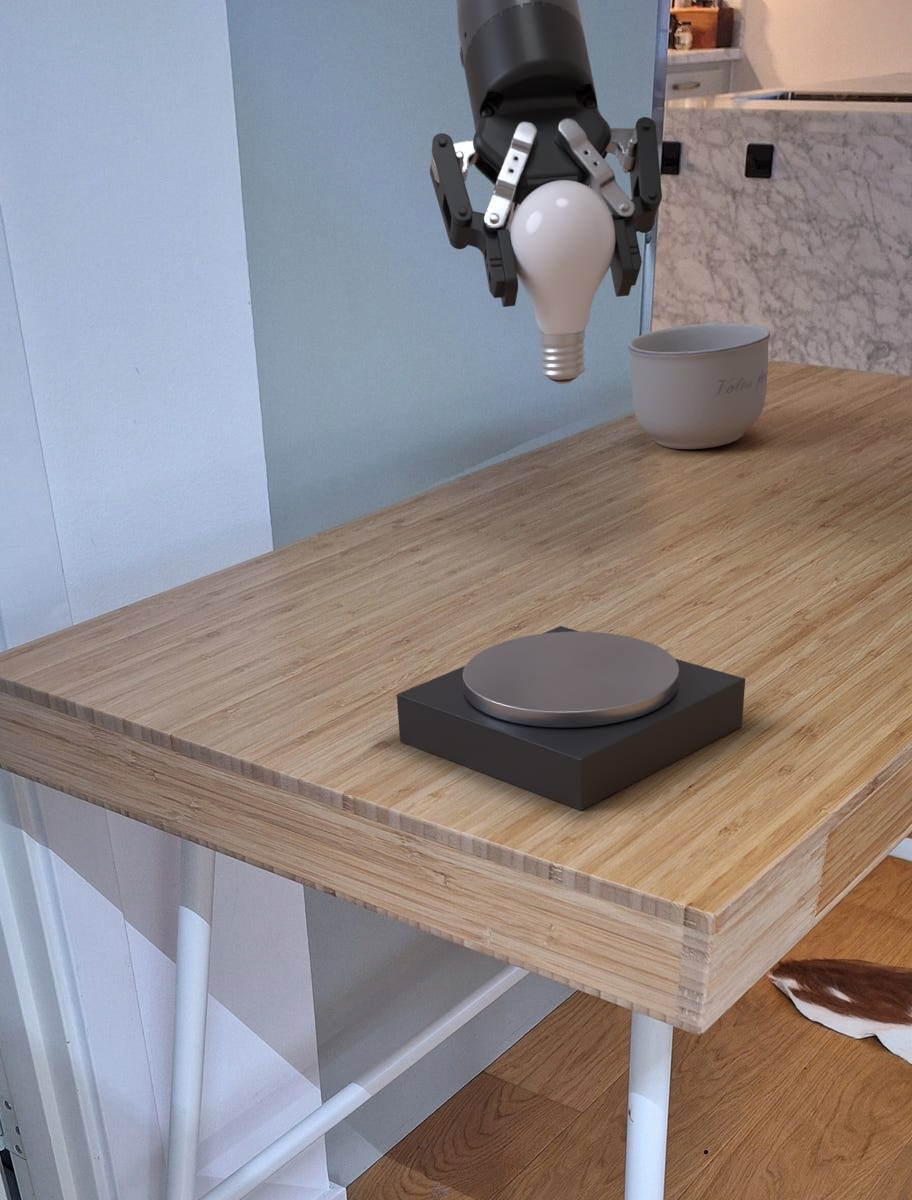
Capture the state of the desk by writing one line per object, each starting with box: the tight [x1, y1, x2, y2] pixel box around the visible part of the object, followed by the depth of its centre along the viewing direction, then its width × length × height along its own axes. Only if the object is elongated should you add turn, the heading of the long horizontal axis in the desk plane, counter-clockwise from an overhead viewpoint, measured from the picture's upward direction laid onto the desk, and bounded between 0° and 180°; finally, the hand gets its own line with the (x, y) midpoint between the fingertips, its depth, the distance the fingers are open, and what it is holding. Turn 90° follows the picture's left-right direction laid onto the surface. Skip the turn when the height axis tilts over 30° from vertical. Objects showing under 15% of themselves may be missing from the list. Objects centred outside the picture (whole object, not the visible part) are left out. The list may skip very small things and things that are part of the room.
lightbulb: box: [509, 180, 616, 385], centre depth 89 cm, size 6×6×11 cm
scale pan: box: [463, 631, 679, 728], centre depth 71 cm, size 10×10×1 cm
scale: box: [396, 625, 746, 811], centre depth 72 cm, size 12×12×2 cm
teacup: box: [627, 320, 771, 450], centre depth 117 cm, size 14×11×8 cm
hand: (568, 291), depth 87 cm, fingers closed on lightbulb, 6 cm apart
